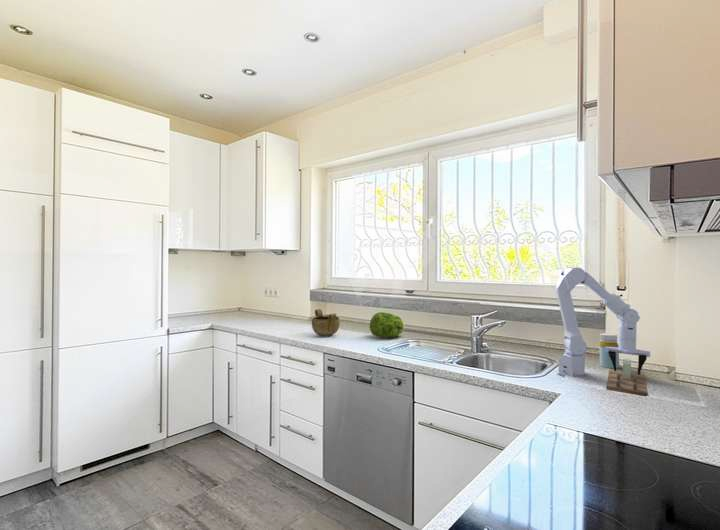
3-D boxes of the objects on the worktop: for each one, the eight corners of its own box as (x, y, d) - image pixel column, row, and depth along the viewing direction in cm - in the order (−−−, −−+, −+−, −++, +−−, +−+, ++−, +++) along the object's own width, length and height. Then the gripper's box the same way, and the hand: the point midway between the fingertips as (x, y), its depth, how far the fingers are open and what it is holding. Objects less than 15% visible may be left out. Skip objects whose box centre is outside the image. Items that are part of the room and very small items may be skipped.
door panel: (630, 379, 147) (630, 364, 147) (622, 378, 149) (623, 363, 148) (630, 373, 155) (630, 358, 155) (623, 372, 157) (623, 357, 157)
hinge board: (647, 396, 132) (647, 386, 132) (606, 389, 139) (606, 380, 139) (645, 377, 153) (645, 369, 153) (609, 372, 160) (609, 364, 160)
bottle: (596, 367, 167) (595, 333, 167) (607, 366, 170) (606, 332, 170) (611, 371, 161) (610, 336, 161) (623, 369, 163) (622, 334, 163)
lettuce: (408, 343, 226) (412, 318, 230) (379, 335, 216) (384, 309, 221) (392, 342, 240) (396, 318, 244) (364, 334, 230) (369, 309, 234)
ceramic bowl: (305, 333, 239) (305, 309, 239) (329, 331, 248) (329, 308, 248) (321, 340, 220) (321, 314, 220) (346, 337, 229) (347, 312, 229)
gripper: (605, 337, 153) (604, 371, 153) (650, 342, 144) (650, 378, 144) (606, 334, 158) (605, 367, 159) (649, 339, 150) (649, 373, 150)
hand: (626, 372), depth 152 cm, fingers open, 7 cm apart
